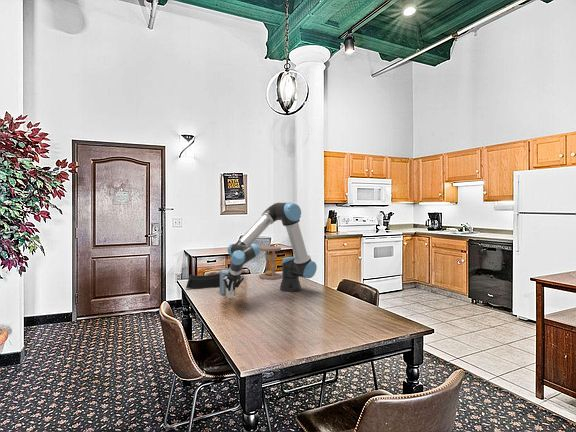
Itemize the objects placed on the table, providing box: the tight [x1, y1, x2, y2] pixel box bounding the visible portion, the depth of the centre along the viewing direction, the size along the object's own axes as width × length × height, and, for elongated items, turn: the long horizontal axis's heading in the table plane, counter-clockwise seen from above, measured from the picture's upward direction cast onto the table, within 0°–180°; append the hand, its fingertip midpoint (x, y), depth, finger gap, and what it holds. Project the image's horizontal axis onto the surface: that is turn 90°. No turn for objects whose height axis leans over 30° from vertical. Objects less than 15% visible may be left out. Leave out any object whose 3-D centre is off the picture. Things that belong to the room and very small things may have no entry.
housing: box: [219, 268, 236, 296], centre depth 250 cm, size 14×8×14 cm, turn 18°
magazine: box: [185, 272, 220, 290], centre depth 263 cm, size 17×3×30 cm
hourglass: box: [259, 245, 282, 281], centre depth 301 cm, size 18×18×25 cm
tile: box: [224, 276, 235, 300], centre depth 240 cm, size 13×4×12 cm, turn 19°
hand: (230, 292), depth 232 cm, fingers closed
